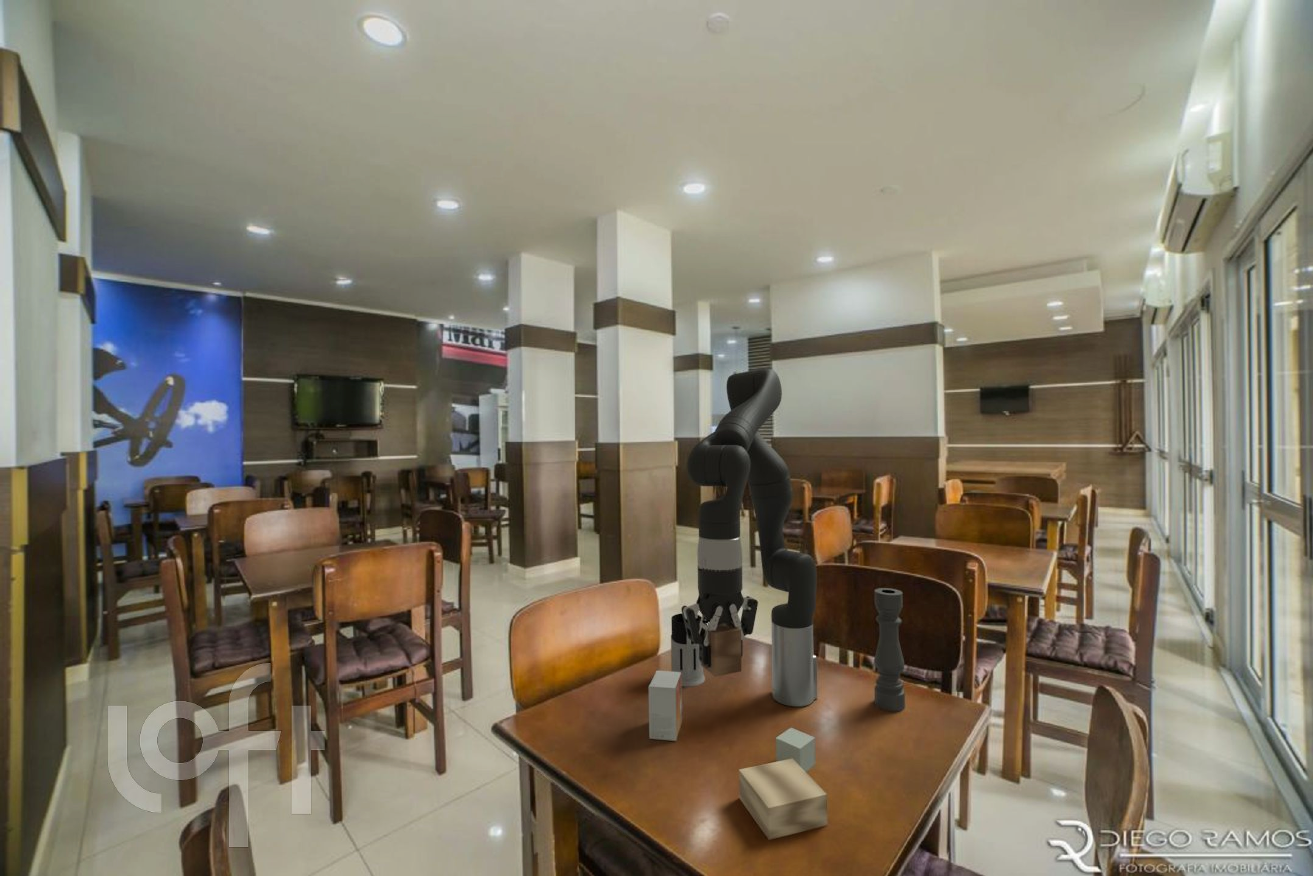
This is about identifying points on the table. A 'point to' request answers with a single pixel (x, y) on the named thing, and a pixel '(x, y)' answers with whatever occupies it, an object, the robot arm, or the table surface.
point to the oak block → (782, 798)
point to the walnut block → (725, 650)
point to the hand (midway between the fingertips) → (720, 662)
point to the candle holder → (889, 651)
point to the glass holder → (685, 653)
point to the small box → (665, 705)
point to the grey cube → (796, 748)
